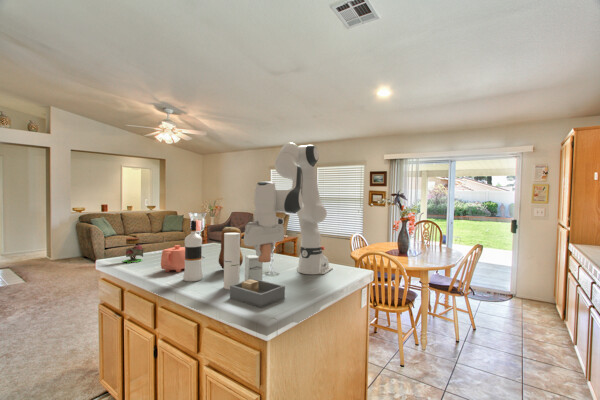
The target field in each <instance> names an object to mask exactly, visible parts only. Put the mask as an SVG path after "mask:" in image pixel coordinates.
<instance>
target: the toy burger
mask: <svg viewBox="0 0 600 400" xmlns="http://www.w3.org/2000/svg"><path fill="white" fill-rule="evenodd" d="M125 240H126V241H125V244H126V245H135V246H133V247H128V248H126V250H125V257H126V258H128V257H129V259H125V260H123V261H122V263H123V262H127V263H126V264H132V263H131V262H136V263H140V262H142V261H143V260H142V258H143V257H144V251H145V249H146V248H145V247H144V248H143V247H142V245H141V244H140V238H139V237H127V238H126V239H125ZM138 256H140V257H142V258H137V257H138ZM139 261H140V262H139Z"/></svg>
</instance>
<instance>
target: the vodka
mask: <svg viewBox="0 0 600 400" xmlns="http://www.w3.org/2000/svg"><path fill="white" fill-rule="evenodd" d="M184 247H185V269H183V270H184V271H183V277H182V278H183V281H185V282H188V283H189V282H190V283H193V282H198V281H201V280H202V279H203V277H204V275H203V268H202V267H203V266H202V261H203V259H202V252H203V251H202V248H203V237H202V236H201V235H200V234H198V233H197V220H190V234H188V235H187V236H186V237H184Z"/></svg>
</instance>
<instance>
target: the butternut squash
mask: <svg viewBox="0 0 600 400" xmlns="http://www.w3.org/2000/svg"><path fill="white" fill-rule="evenodd" d="M224 233H240V246H241V245H242V232H241V229H240V228H238V227H234V226H225V227H223V229H221V233H220V235H221V237H220V238H221V240H220V241H221V242H220V252H219V255H218V264H219V265H220V267H221V268H222V269H223V270H224ZM243 262H244V255H243V253H242V250H241V249H240V267H241V266H242V264H243Z"/></svg>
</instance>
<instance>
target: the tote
mask: <svg viewBox="0 0 600 400" xmlns="http://www.w3.org/2000/svg"><path fill="white" fill-rule="evenodd" d="M252 280H255V281H259V285H258V293H257V292H254V291H250V290H247V289H243V288H242V282H243V281H240V282H239V283H238V284H235V285H231V286H230V289H229V298H230V299H233V300H235V301H237V302H241V303H244V304H248V305H251V306H253V307H256V308H260V309H263V308H264V307H265V308H266V306H269V305H272V304H274V303H277V302H279V301H282V300H284V299H285V297H286V296H285V295H286V286H285V285H281V284H277V283H273V282H270V281H266V280H263V279H262V280H258V279H252Z"/></svg>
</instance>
